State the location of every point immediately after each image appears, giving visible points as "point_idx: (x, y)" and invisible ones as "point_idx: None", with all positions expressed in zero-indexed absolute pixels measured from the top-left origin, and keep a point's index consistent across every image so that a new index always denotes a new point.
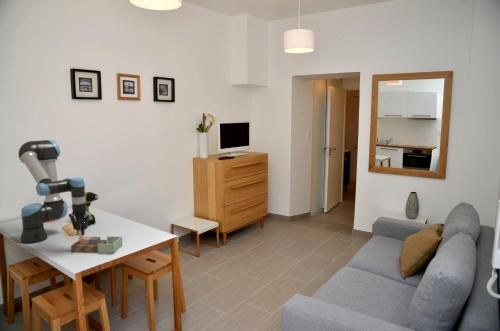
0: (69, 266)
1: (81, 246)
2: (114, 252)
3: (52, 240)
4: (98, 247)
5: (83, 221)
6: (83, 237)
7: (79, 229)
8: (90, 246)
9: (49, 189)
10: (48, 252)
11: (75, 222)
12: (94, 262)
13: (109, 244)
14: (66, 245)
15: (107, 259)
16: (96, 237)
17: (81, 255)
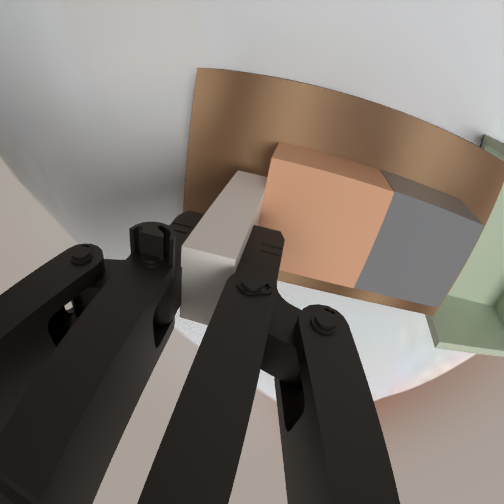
0: (274, 392)
1: (284, 278)
2: (500, 302)
3: (7, 21)
4: (430, 324)
5: (224, 501)
6: (268, 201)
7: (176, 295)
8: (370, 300)
9: None
10: (66, 210)
11: (10, 362)
12: (386, 380)
13: (499, 355)
14: (103, 82)
15: (448, 361)
16: (445, 235)
17: (302, 299)
